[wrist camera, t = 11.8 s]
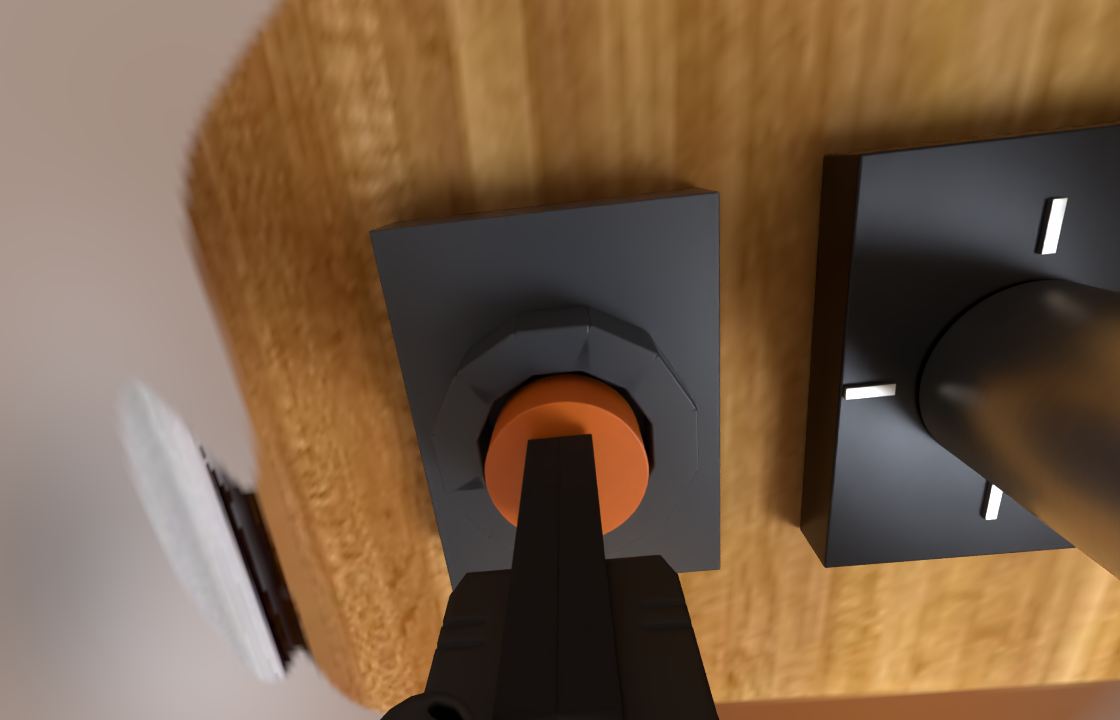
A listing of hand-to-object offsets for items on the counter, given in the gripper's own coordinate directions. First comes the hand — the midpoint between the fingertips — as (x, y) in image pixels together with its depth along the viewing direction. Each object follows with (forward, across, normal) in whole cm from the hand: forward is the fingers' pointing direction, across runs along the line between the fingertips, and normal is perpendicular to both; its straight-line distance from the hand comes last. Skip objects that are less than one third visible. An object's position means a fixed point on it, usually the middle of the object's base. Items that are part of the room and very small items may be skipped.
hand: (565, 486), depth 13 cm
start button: (+2, 0, 0) cm, 2 cm away
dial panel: (+5, +13, 0) cm, 14 cm away
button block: (+5, 0, 0) cm, 5 cm away
